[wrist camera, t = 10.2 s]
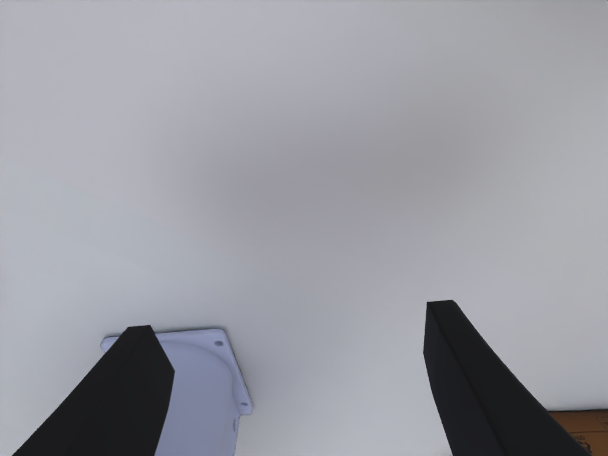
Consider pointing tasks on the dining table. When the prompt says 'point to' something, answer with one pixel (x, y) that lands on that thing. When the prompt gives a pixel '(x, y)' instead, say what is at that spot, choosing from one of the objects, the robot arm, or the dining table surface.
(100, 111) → the dining table surface
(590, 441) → the pancake mix bag
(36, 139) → the dining table surface
